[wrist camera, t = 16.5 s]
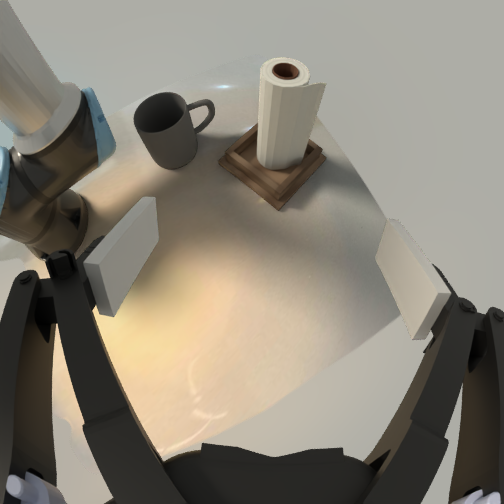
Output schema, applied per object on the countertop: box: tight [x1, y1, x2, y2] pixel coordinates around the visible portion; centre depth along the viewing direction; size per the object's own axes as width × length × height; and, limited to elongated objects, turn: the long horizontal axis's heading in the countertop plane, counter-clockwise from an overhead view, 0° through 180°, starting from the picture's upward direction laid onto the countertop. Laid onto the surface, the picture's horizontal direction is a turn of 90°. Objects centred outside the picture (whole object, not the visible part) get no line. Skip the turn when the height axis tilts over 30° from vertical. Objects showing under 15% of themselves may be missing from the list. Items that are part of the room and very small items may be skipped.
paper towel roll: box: [257, 57, 326, 170], centre depth 40 cm, size 7×6×21 cm
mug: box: [134, 92, 215, 169], centre depth 46 cm, size 14×9×12 cm
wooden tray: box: [218, 123, 326, 211], centre depth 50 cm, size 14×14×4 cm
